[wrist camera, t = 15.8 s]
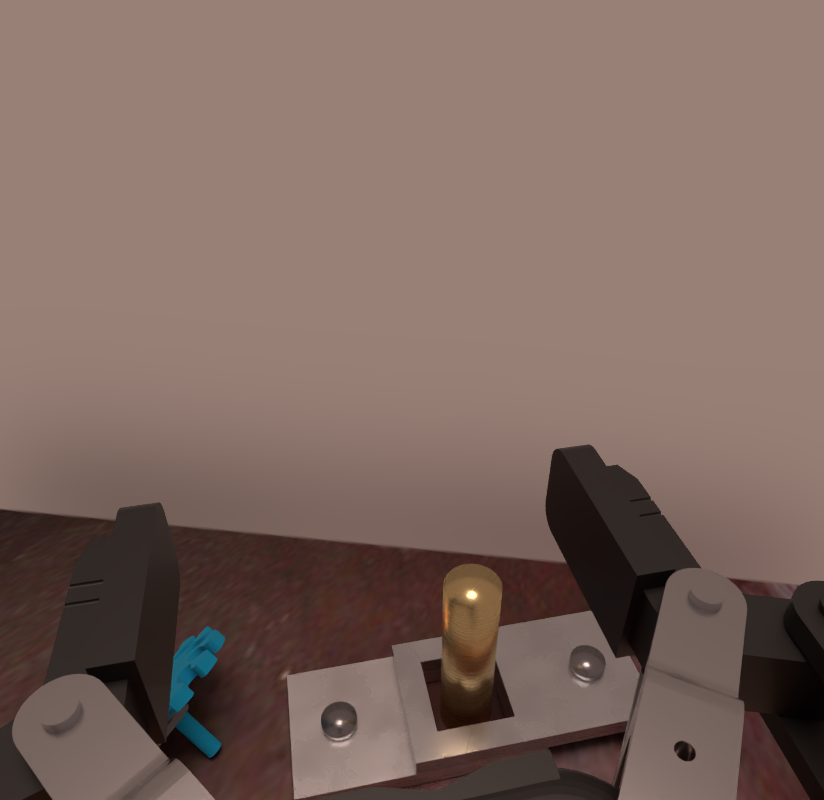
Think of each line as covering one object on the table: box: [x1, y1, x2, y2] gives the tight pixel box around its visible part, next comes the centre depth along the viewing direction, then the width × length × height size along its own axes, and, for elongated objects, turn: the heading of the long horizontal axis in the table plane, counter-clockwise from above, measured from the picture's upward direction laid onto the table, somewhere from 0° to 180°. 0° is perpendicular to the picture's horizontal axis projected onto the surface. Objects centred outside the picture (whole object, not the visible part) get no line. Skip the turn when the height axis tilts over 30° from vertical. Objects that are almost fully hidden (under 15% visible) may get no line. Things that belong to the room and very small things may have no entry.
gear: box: [156, 626, 225, 758], centre depth 42 cm, size 11×6×10 cm
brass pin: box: [441, 564, 502, 729], centre depth 41 cm, size 3×3×12 cm
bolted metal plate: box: [287, 611, 639, 800], centre depth 44 cm, size 22×8×3 cm, turn 101°
